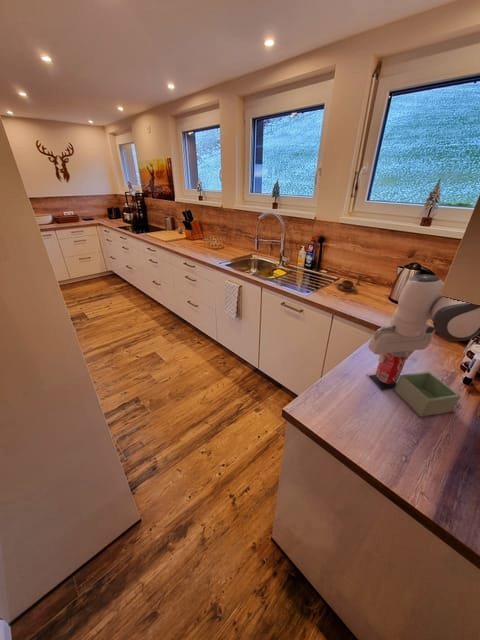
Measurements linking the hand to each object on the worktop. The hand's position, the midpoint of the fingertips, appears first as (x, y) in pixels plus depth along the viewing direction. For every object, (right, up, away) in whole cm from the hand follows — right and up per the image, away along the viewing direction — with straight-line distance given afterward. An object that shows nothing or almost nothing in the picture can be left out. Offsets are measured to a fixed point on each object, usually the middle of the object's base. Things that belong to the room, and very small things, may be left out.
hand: (392, 360), depth 89 cm
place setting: (+22, +34, +83) cm, 92 cm away
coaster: (0, -8, +5) cm, 10 cm away
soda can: (0, -7, +4) cm, 8 cm away
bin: (+8, -13, -3) cm, 15 cm away
